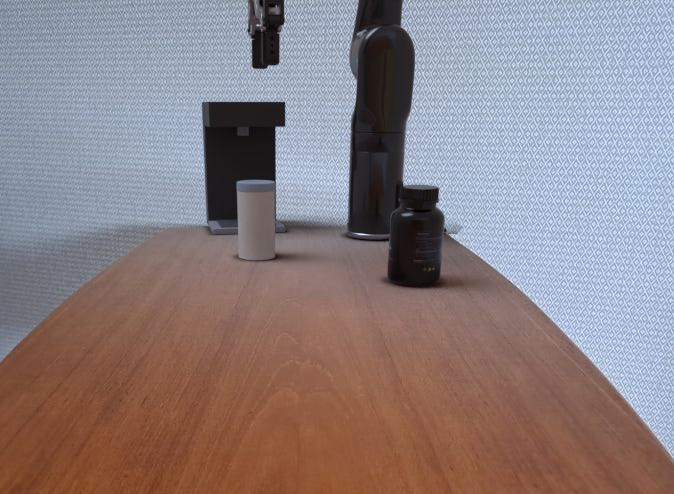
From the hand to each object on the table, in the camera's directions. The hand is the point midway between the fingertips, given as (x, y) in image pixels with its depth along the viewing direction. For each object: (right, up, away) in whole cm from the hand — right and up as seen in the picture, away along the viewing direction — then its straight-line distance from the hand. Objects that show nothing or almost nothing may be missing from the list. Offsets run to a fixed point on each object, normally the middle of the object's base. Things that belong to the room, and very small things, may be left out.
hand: (265, 67), depth 91 cm
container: (-2, -24, +11) cm, 26 cm away
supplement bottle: (+19, -29, -3) cm, 35 cm away
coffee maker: (-5, -15, +35) cm, 39 cm away
